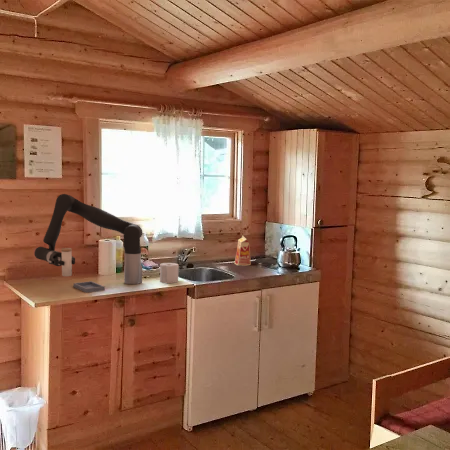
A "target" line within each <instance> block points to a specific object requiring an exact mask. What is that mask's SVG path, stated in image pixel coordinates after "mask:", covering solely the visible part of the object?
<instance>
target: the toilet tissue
mask: <svg viewBox="0 0 450 450" xmlns="http://www.w3.org/2000/svg"><path fill="white" fill-rule="evenodd" d="M159 281H160V283H166V284H173V283H178V282H179V264H178V263H175V262H162V263H160V264H159Z"/></svg>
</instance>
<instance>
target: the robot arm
mask: <svg viewBox="0 0 450 450" xmlns="http://www.w3.org/2000/svg"><path fill="white" fill-rule="evenodd" d="M67 212H70V213H72V214H75V215H78V216H79V217H82V218H84V220H86V221H87V222H90V223H91V224H92V225H95V226H98V227H100V228H103V229H107V230H111V231H115V232H118V233H120V234H122V235H123V249H124V266H123V267H124V271H123V272H124V277H123V278H124V279H123V280H124V281H123V282H124V284H126V285H138V284H141V283H143V266H142V247H141V237H142V236H143V229H142V227H141V226H140V225H138V224H136V223H133V222H129V221H127V220H124V219H121V218H120V217H117V216H115V215H114V214H112V213H110V212H108V211H106V210H104V209H101V208H99V207H97V206H93V205H89V204H87V203H84V202H82V201H80V200H78V199H77V198H75V197H74V196H72V195H70V194H66V193H62V194H59V195H58V196H57V197H56V201H55V204H54V208H53V213H52V216H51V219H50V222H49V225H48V228H47V230H46V232H45V234H44V237H43V239H42V240H43V243H44V244H46V245H48V248H47V247H44V246H38V247H36V248H35V250H34V256H35V258H36V259H38V260H41V261H44V262H47V263H48V264H49V265H53V266H56V267H62V265H64V261H62V251H57V250H55V249H56V245H57V241H58V238H59V236H60V233H61V229H62V223H63V219H64V217H65V215H66V214H67ZM75 264H76V258H75V257H74V255H73V256H72V265H75Z"/></svg>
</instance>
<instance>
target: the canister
mask: <svg viewBox="0 0 450 450" xmlns="http://www.w3.org/2000/svg"><path fill="white" fill-rule="evenodd" d="M72 249H73V248H71V247H62V248H61V250H60V252H61V253H62V261H64V265H62V266H61V276H62V277H71V276H73V269H72V268H73V264H72V255H73V254H72V253H73V252H72V251H73V250H72Z"/></svg>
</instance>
